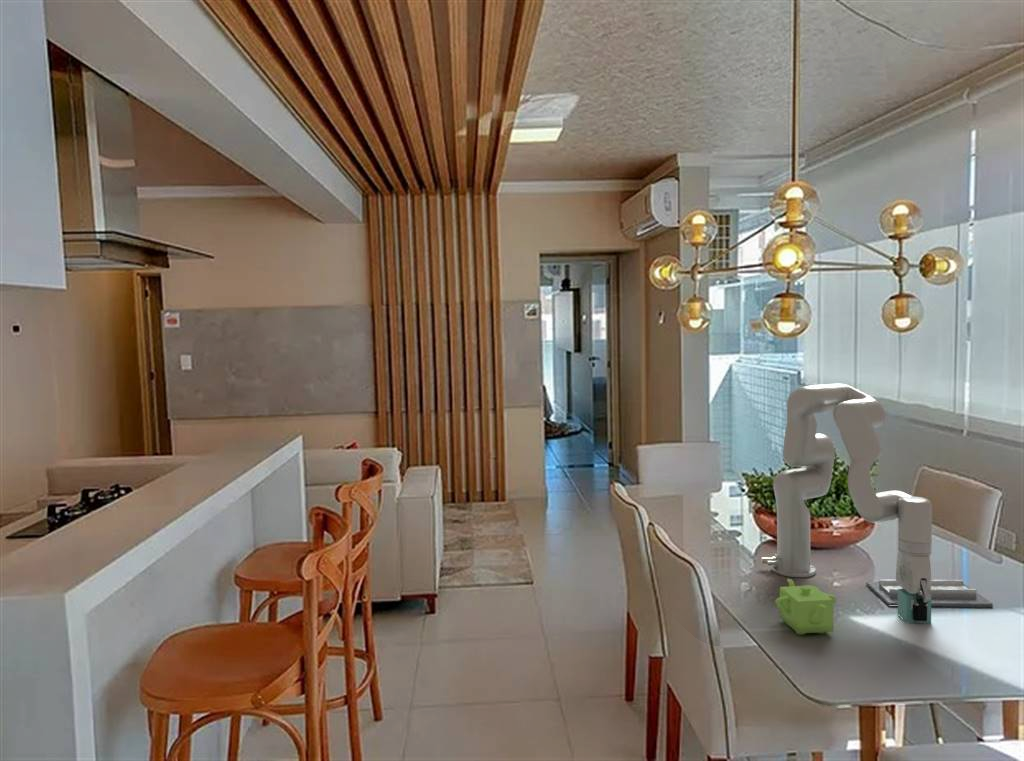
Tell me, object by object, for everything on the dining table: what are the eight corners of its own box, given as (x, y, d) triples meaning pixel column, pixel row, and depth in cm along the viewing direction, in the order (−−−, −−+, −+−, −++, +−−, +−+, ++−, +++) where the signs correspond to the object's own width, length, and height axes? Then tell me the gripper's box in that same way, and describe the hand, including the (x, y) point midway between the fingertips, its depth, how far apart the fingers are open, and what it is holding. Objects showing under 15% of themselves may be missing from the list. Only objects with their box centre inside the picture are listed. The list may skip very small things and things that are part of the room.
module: (906, 622, 183) (906, 595, 182) (897, 614, 188) (897, 588, 187) (931, 623, 182) (931, 596, 182) (922, 615, 187) (922, 588, 187)
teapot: (857, 643, 172) (857, 600, 171) (793, 647, 171) (793, 603, 170) (816, 611, 192) (816, 572, 191) (759, 614, 191) (759, 575, 190)
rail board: (889, 606, 193) (889, 594, 193) (866, 585, 209) (866, 574, 209) (992, 607, 190) (992, 595, 190) (961, 585, 206) (961, 574, 206)
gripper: (885, 536, 193) (885, 602, 194) (914, 556, 175) (913, 629, 177) (915, 536, 192) (914, 602, 193) (946, 556, 175) (946, 629, 176)
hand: (914, 614), depth 185 cm, fingers open, 5 cm apart
